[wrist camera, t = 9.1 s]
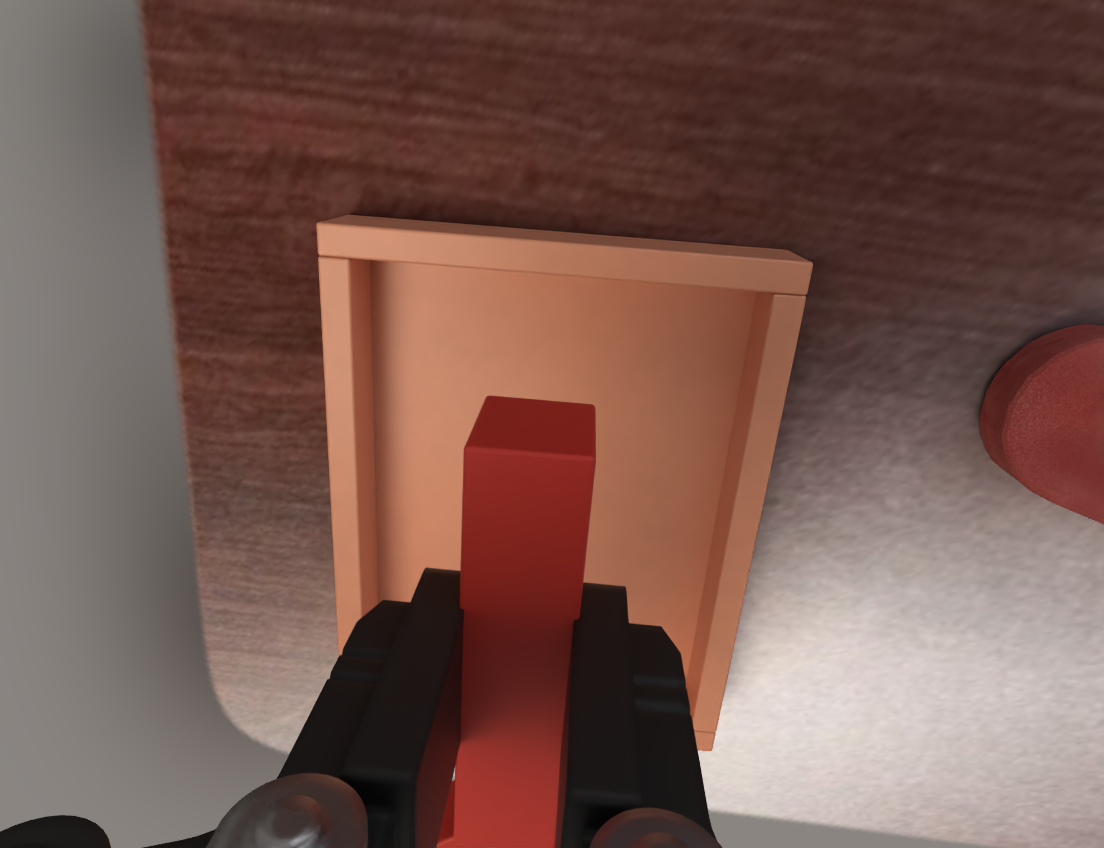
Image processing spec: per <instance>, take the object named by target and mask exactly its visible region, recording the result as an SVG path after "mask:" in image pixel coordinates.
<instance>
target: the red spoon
mask: <svg viewBox="0 0 1104 848" xmlns="http://www.w3.org/2000/svg"><path fill="white" fill-rule="evenodd" d="M595 466H596V409H595V406H594V405H592V404H584V403H572V402H561V401H549V400H537V399H526V398H514V397H503V396H491V395H489V396H486V398H485V401H484V403H483V405H482V408H481V410H480V412H479V415H478V417H477V419H476V422H475V424H474V426H473V429H472V431H471V433H470V435H469V438H468V440H467V442H466V445H465V447H464V455H463V493H462V531H461V570H460V608H461V609H464V627H463V662H462V696H461V731H460V746H459V751H458V755H457V760H456V764H455V780H454V781H452V782H451V786H450V791H449V795H448V799H447V804H446V808H445V813H444V817H443V821H442V826H441V830H440V835H439V839H438V844H437V848H555V838H556V820H557V803H558V785H559V768H560V752H561V742H562V732H563V722H564V712H565V702H566V692H567V683H568V673H569V663H570V653H571V643H572V633H573V623H574V620H577V619H579V617H580V609H581V600H582V590H583V581H584V571H585V562H586V552H587V542H588V533H589V523H590V514H591V504H592V495H593V485H594V476H595Z"/></svg>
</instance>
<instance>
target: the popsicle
mask: <svg viewBox="0 0 1104 848" xmlns="http://www.w3.org/2000/svg"><path fill="white" fill-rule="evenodd" d="M979 422H980V433H981V437H982V440H983V443H984V446H985V449H986V450H987V452H988V454H989V455H990V457H991V459H992V460H993V461H994V462H995V463H996V464H998V465H999V466H1000V467H1001V468H1002V469H1003V470H1005V471H1006V472H1007V473H1009V474H1010V475H1011V476H1013V477H1014V478H1015V479H1016V480H1018V481H1019V482H1020V483H1022V484H1023V485H1024V486H1025V487H1027V488H1028V489H1029V490H1030V491H1032V492H1034V493H1036V494H1037V495H1039V496H1041V497H1043V498H1045V499H1046V500H1048V501H1050V502H1052V503H1054V504H1057V505H1059V506H1062V507H1064V508H1066V509H1069V510H1071V511H1074V512H1076V513H1078V514H1081V515H1083V516H1085V517H1088V518H1090V519H1093V520H1095V521H1097V522H1100V523H1102V524H1104V325H1091V324H1081V325H1076V326H1071V327H1066V328H1063V329H1060V330H1057V331H1054V332H1051V333H1048V334H1046V335H1044V336H1042V337H1040V338H1038V339H1036V340H1034V341H1032V342H1030V343H1028V344H1027V345H1026V346H1024V347H1023V348H1022V349H1021V350H1020V351H1019V352H1018V353H1016V354H1015V355H1014V356H1013V357H1012V358H1011V359H1009V360H1008V361H1007V362H1006V363H1005V364H1004V365H1003V366H1002V367H1001V369H1000V370H999V372H998V373H997V374H996V376H995V377H994V379H993V380H992V382H991V384H990V386H989V387H988V389H987V391H986V394H985V398H984V402H983V406H982V410H981V414H980V418H979Z"/></svg>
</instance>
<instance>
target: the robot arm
mask: <svg viewBox="0 0 1104 848" xmlns="http://www.w3.org/2000/svg"><path fill="white" fill-rule="evenodd" d="M463 627H464V609H461V608H460V571H459V570H449V569H438V568H427V567H426V568H425V569H424V571H423V573H422V575H421V578H420V580H419V582H418V585H417V587H416V590H415V592H414V595H413V597H412V600H411V602H403V601H392V600H382V601H381V602H380V603H379V604H377V605H376V606H375V607H374V608H373V609H371V610H370V611H369V612H368V613H367V614H365V615H364V616H363V617H362V618H361V619H359V620H358V621H357V622H356V624H355V626H354V628H353V630H352V632H351V634H350V636H349V638H348V640H347V642H346V644H345V646H344V648H343V651H342V655H340V656H339V658H338V660H337V662H336V664H335V665H334V667H333V669H332V671H331V675H330V679H327V681H326V683H325V685H324V687H323V689H322V691H321V693H320V695H319V697H318V699H317V701H316V703H315V705H314V707H313V709H312V711H311V713H310V715H309V717H308V719H307V721H306V723H305V725H304V727H303V729H302V731H301V733H300V735H299V737H298V739H297V740H296V742H295V744H294V746H293V748H292V750H291V752H290V754H289V756H288V759H287V760H286V762H285V764H284V766H283V768H282V770H281V772H280V774H279V776H278V777H277V779H275V780H273V781H271V782H268V783H266V784H264V785H262V786H260V787H258V788H257V789H255V790H253V791H252V792H250V793H249V794H247V795H246V796H245V797H243V798H242V799H241V800H240V801H239V802H238V803H236V804H235V805H234V806H233V807H232V808H231V809H230V810H229V812H228V813H227V814H226V815H225V816H224V818H223V819H222V820H221V822H220V824H219V825H218V827H217V828H216V829H215V830H213V831H210V832H207V833H205V834H202V835H199V836H196V837H192V838H188V839H184V840H180V841H175V842H170V843H164V844H159V845H154V846H149V847H144V848H437V844H438V839H439V835H440V830H441V826H442V821H443V817H444V813H445V808H446V804H447V799H448V795H449V791H450V786H451V782H452V777H453V773H454V768H455V764H456V760H457V755H458V751H459V746H460V731H461V696H462V662H463ZM0 848H111V846H110V843H109V839H108V837H107V835H106V834H105V832H104V830H103V829H101V828H100V827H99V826H98V825H97V824H96V823H94V822H92V821H90V820H88V819H85V818H81V817H76V816H65V815H59V816H49V817H43V818H38V819H34V820H30V821H27V822H24V823H21V824H18V825H15V826H12V827H10V828H8V829H6V830H3V831H1V832H0ZM555 848H722V847H721V845H720V844H719V843H718V842H717V840H716V837H715V835H714V832H713V830H712V827H711V823H710V819H709V814H708V808H707V802H706V796H705V790H704V785H703V779H702V773H701V767H700V761H699V756H698V750H697V744H696V738H695V732H694V727H693V721H692V715H690V703H689V698H688V692H687V689H686V680H685V674H684V669H683V663H682V657H681V653H680V651H679V650H678V648H677V647H676V646H675V644H674V643H673V642H672V640H671V639H670V637H669V636H668V635H667V633H666V632H665V631H664V629H663V628H662V626H654V625H643V624H633V623H629V618H628V604H627V591H626V587H625V586H618V585H608V584H597V583H586V582H583V590H582V600H581V609H580V617H579V619H577V620H574V623H573V633H572V643H571V653H570V663H569V673H568V683H567V692H566V702H565V712H564V722H563V732H562V742H561V752H560V768H559V785H558V803H557V820H556V838H555Z"/></svg>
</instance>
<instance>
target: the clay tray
mask: <svg viewBox="0 0 1104 848" xmlns="http://www.w3.org/2000/svg"><path fill="white" fill-rule="evenodd" d="M317 243H318V254H319V255H320V257H319V258H318V263H319V283H320V302H321V321H322V340H323V360H324V379H325V398H326V418H327V437H328V456H329V476H330V495H331V514H332V533H333V553H334V572H335V591H336V611H337V630H338V649H339V656H340V655H342V651H343V648H344V646H345V644H346V642H347V640H348V638H349V636H350V634H351V632H352V630H353V628H354V626H355V624H356V622H357V621H358V620H359V619H361V618H362V617H363V616H364V615H365V614H367V613H368V612H369V611H370V610H371V609H373V608H374V607H375V606H376V605H377V604H379V603H380V602H381V601H382V600H392V601H403V602H411V600H412V597H413V595H414V592H415V590H416V587H417V585H418V582H419V580H420V578H421V575H422V573H423V571H424V569H425V568H426V567H427V568H438V569H449V570H459V571H460V570H461V531H462V493H463V455H464V447H465V445H466V442H467V440H468V438H469V435H470V433H471V431H472V429H473V426H474V424H475V422H476V419H477V417H478V415H479V412H480V410H481V408H482V405H483V403H484V401H485V398H486V396H489V395H491V396H503V397H514V398H526V399H537V400H549V401H561V402H572V403H584V404H592V405H594V406H595V409H596V466H595V476H594V485H593V495H592V504H591V514H590V523H589V533H588V542H587V552H586V562H585V571H584V581H583V582H586V583H597V584H608V585H618V586H625V587H626V591H627V604H628V618H629V623H633V624H643V625H654V626H662V628H663V629H664V631H665V632H666V633H667V635H668V636H669V637H670V639H671V640H672V642H673V643H674V644H675V646H676V647H677V648H678V650H679V651H680V653H681V657H682V663H683V669H684V674H685V680H686V689H687V692H688V698H689V703H690V715H692V721H693V727H694V732H695V738H696V744H697V750H702V751H712V748H713V743H714V739H715V734H716V733H715V732H716V730H717V725H718V720H719V715H720V710H721V706H722V701H723V696H724V691H725V686H726V682H727V677H728V672H729V667H730V662H731V658H732V653H733V648H734V643H735V638H736V633H737V629H738V624H739V619H740V614H741V609H742V605H743V600H744V595H745V590H746V585H747V581H748V576H749V571H750V566H751V561H752V557H753V552H754V547H755V542H756V537H757V533H758V528H759V523H760V518H761V513H762V508H763V504H764V499H765V494H766V489H767V484H768V480H769V475H770V470H771V465H772V460H773V456H774V451H775V446H776V441H777V436H778V432H779V427H780V422H781V417H782V412H783V408H784V403H785V398H786V393H787V388H788V383H789V379H790V374H791V369H792V364H793V359H794V355H795V350H796V345H797V340H798V335H799V331H800V326H801V321H802V316H803V311H804V307H805V302H806V296H804V295H806V294H807V292H808V287H809V282H810V278H811V273H812V268H813V263H812V262H810V261H808V260H806V259H804V258H802V257H800V256H798V255H796V254H794V253H792V252H790V251H788V250H782V249H770V248H758V247H745V246H733V245H720V244H708V243H695V242H683V241H670V240H658V239H645V238H633V237H620V236H608V235H595V234H583V233H571V232H558V231H546V230H533V229H521V228H508V227H496V226H483V225H471V224H458V223H446V222H433V221H421V220H408V219H396V218H384V217H371V216H359V215H345V216H342V217H338V218H334V219H330V220H326V221H322V222H319V223H317Z"/></svg>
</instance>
